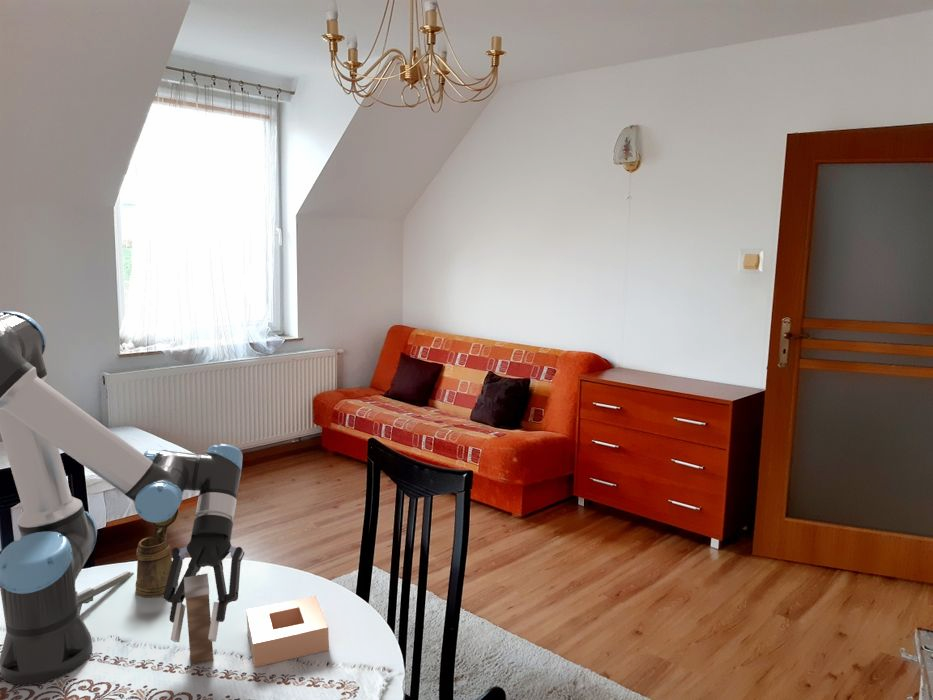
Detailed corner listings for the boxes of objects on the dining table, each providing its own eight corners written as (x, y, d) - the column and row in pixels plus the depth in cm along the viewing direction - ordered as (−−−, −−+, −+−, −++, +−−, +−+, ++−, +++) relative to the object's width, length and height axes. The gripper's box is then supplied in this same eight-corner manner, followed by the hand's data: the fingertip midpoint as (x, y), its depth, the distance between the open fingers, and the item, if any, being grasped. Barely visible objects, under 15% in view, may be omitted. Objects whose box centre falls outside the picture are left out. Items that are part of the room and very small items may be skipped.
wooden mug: (193, 567, 169) (188, 496, 165) (167, 598, 156) (160, 522, 152) (156, 566, 170) (150, 495, 166) (127, 597, 156) (120, 521, 153)
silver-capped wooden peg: (190, 665, 134) (184, 588, 130) (189, 652, 138) (183, 577, 134) (214, 660, 135) (208, 584, 132) (212, 648, 139) (207, 573, 136)
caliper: (71, 624, 147) (68, 597, 145) (66, 624, 147) (63, 596, 145) (134, 574, 166) (131, 549, 165) (129, 574, 166) (127, 549, 165)
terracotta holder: (254, 667, 134) (253, 643, 133) (247, 631, 144) (246, 609, 143) (328, 650, 139) (328, 627, 138) (316, 617, 150) (316, 595, 149)
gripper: (265, 525, 148) (250, 643, 135) (171, 526, 147) (147, 645, 134) (258, 512, 142) (241, 635, 129) (160, 513, 141) (133, 637, 128)
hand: (193, 640), depth 132 cm, fingers open, 6 cm apart
